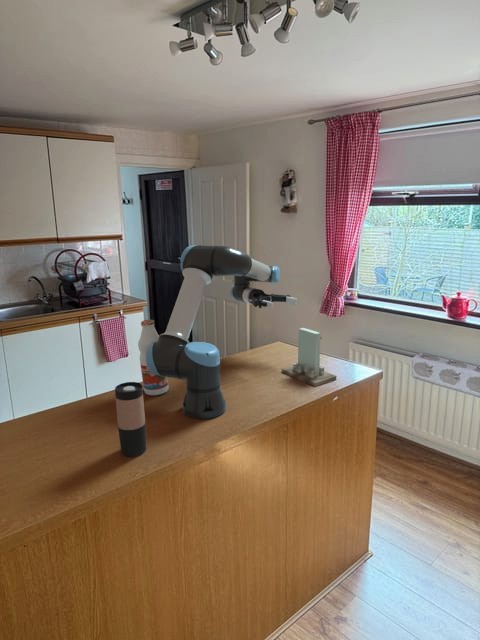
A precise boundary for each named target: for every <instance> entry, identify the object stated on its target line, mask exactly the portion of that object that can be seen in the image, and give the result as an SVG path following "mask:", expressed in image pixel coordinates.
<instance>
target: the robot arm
mask: <svg viewBox="0 0 480 640" xmlns="http://www.w3.org/2000/svg"><path fill="white" fill-rule="evenodd" d="M251 257H252V256H250V255H249V254H248V253H246V252H244V251H242V250H239V249H237V248H234V247H230V246H226V245H202V244H195V245H189V246H187V247H186V248H185V249H184V250H183V251H182V253H181V256H180V270H181V272H182V276H183V278H184V279H183V281H182V283H181V287H180V289H179V292H178V296H177V298H176V301H175V305H174V307H173V310H172V313H171V315H170V318H169V321H168V324H167V326H166V329H165V332H164V333H161V334H159V339H158V341H157V342H153V343H151V344H150V345H149V346H148V348H147V352H146V363H147V367H148V369H149V371H150V372H151V373H152V374H155V375H159V376H161V377H168V378H171V379H177V380H183V381H186V382H185V383H186V391H185V395H184V398H183V401H182V412H183V414H184V415H185V416H187V417H189V418H192V419H197V420H198V419H199V420H206V419H207V420H208V419H214V418H217V417H219V416H221V415H223V414H225V412H226V410H227V402H226V399H225V397H224V393H223V391H222V388H221V357H220V350H219V348H218V347H217V346H216V345H214V344H212V343H208V342H205V341H191V342H190V340H189V338H190V334H191V333H192V332H191V331H192V329H193V325H194V322H195V319H196V317H197V313H198V311H199V307H200V304H201V301H202V298H203V296H204V295H203V294H204V292H205V289H206V286H207V285H209V284H211V283H212V280H213V277H230V276H231V277H232V276H233V281H234V282H233V285H232V286H231V288H230V290H229V294H230V297H231V298H232V299H233V300H235V301H237V302H241V303H244V304H245V303H246V304H249V305H250V306H254V307H255V308H257V307H258V308H259V309H262V308H267V309H270V310H274V302H275V303H276V302H278V303H286V304H289V305H290V304H291V305H294V306H298V298H297V297H291V295H290V294H287V295H286V294H285V295H284V294H275V293H271V294H269V293H265V291H264V290H262V289H260V288H256V287H250V286H251V282H258V283H259V282H260V283H271V284H272V283H274V284H275V283H276V284H277V283H278V282H279V281H280V278H281V269H280V267H279V266H275V265H267V264H265V263H263V262H261V261H258V260H256V259H253V258H251Z"/></svg>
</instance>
